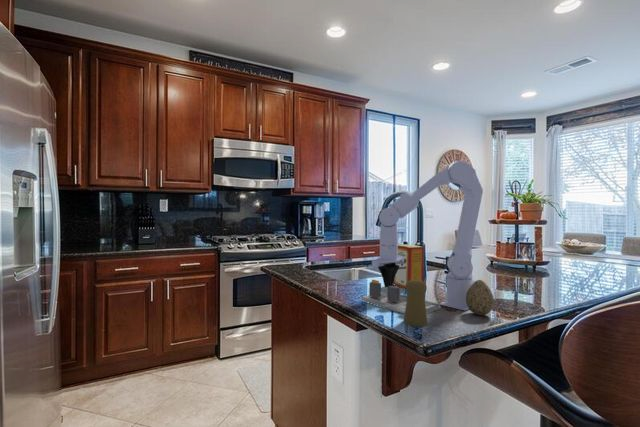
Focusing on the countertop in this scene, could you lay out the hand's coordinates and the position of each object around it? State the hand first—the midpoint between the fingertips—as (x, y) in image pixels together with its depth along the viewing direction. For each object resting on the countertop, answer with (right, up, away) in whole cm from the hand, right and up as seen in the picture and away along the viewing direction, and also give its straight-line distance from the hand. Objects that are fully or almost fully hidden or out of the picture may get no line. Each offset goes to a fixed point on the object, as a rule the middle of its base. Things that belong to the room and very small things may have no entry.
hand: (388, 286), depth 110 cm
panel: (+2, -4, -6) cm, 8 cm away
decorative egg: (+23, -5, -14) cm, 27 cm away
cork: (+3, -5, -21) cm, 22 cm away
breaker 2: (0, -3, -8) cm, 8 cm away
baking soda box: (+11, -4, +20) cm, 23 cm away
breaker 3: (-5, -2, -3) cm, 6 cm away
